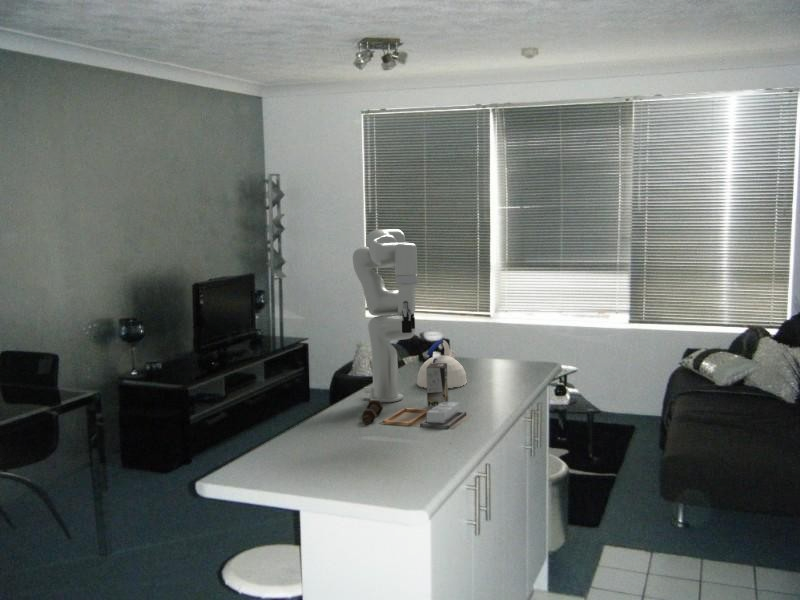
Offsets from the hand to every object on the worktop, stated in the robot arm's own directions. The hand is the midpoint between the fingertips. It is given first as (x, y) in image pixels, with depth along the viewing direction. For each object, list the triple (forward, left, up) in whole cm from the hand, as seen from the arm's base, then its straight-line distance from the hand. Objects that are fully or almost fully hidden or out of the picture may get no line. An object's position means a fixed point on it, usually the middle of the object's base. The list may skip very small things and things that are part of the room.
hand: (408, 330), depth 273 cm
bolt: (-13, -6, -30) cm, 33 cm away
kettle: (-9, +54, -30) cm, 62 cm away
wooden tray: (+7, -6, -30) cm, 31 cm away
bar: (+14, -6, -29) cm, 32 cm away
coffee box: (+5, +12, -30) cm, 33 cm away
